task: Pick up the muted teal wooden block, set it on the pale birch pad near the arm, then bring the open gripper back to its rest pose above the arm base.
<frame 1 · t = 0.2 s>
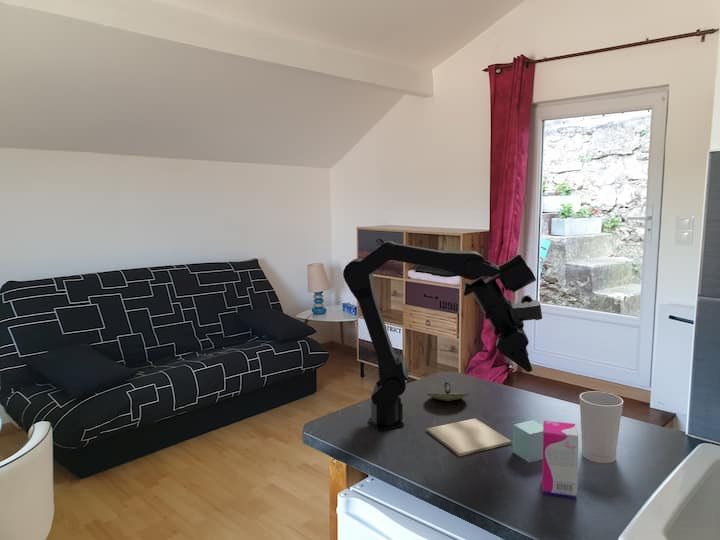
hand: (528, 363, 118), 15 cm above the kitchen counter, tool tilted 30°, fingers open, 9 cm apart
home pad: (467, 437, 117), on the kitchen counter
lid: (448, 402, 137), on the kitchen counter
cup: (598, 456, 108), on the kitchen counter
supplement box: (558, 489, 96), on the kitchen counter
teal block: (530, 455, 108), on the kitchen counter
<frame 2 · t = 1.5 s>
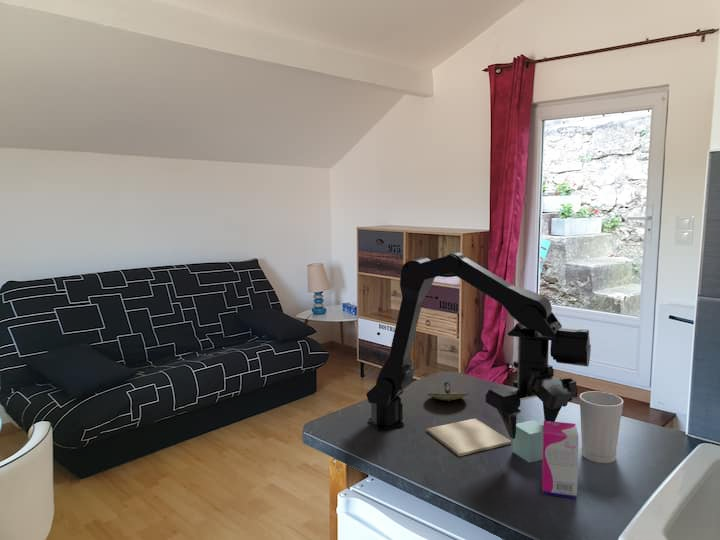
hand: (530, 433, 108), 4 cm above the kitchen counter, tool pointing down, fingers open, 9 cm apart
nothing on the kitchen counter moved.
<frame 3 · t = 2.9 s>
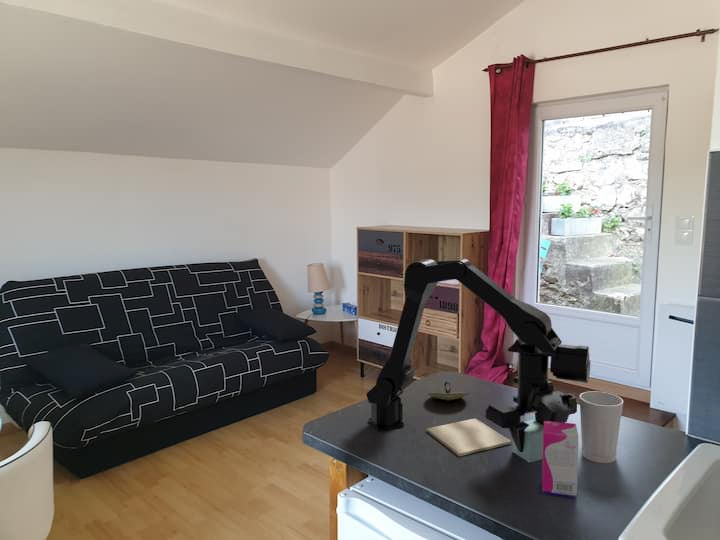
hand: (530, 448, 108), 1 cm above the kitchen counter, tool pointing down, fingers closed on teal block, 5 cm apart
teal block: (530, 454, 108), on the kitchen counter, touching gripper
everything else where it was.
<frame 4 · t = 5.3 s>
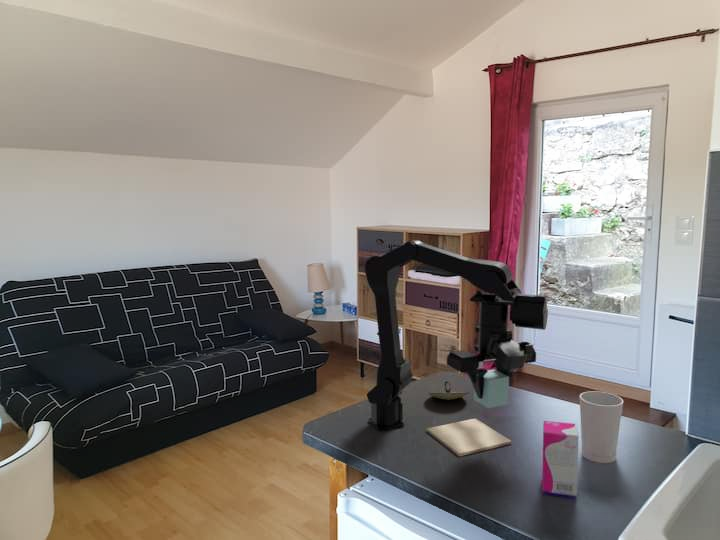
hand: (490, 396, 112), 10 cm above the kitchen counter, tool pointing down, fingers closed on teal block, 5 cm apart
teal block: (490, 401, 112), point 9 cm above the kitchen counter, touching gripper
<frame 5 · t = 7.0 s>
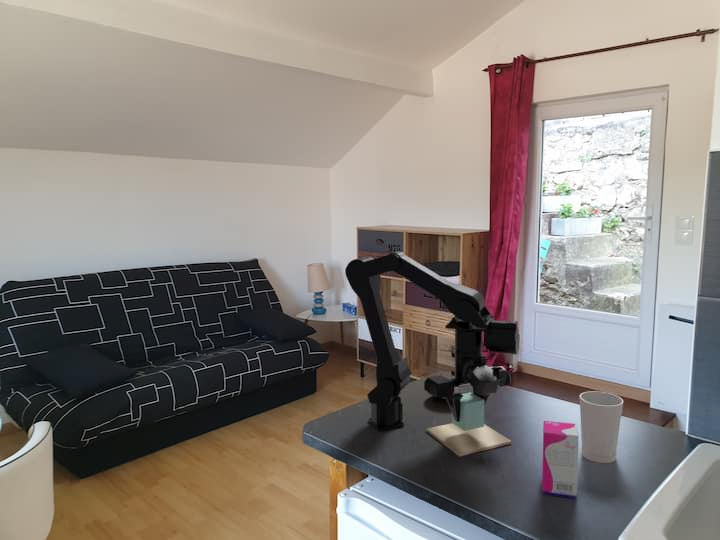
hand: (467, 419, 116), 4 cm above the kitchen counter, tool pointing down, fingers closed on teal block, 5 cm apart
teal block: (467, 424, 116), point 3 cm above the kitchen counter, touching gripper
when the fingers open (3 cm above the kitchen counter, at t = 8.0 s): teal block drops 1 cm, resting on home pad.
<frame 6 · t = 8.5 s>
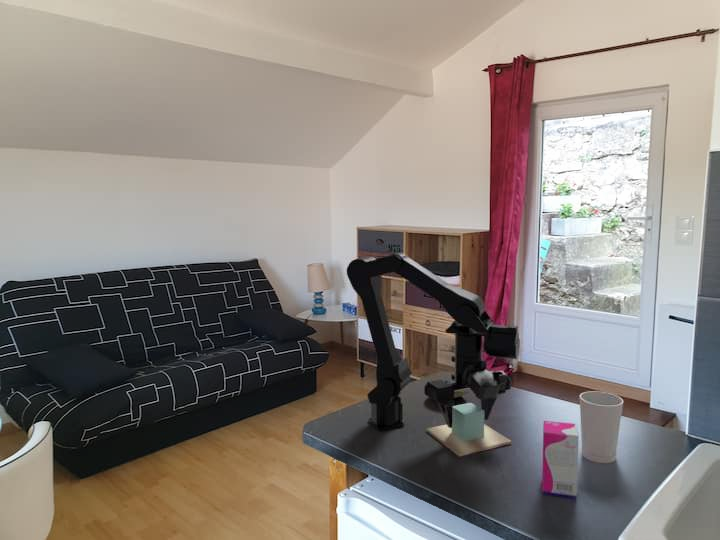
hand: (467, 423, 116), 3 cm above the kitchen counter, tool pointing down, fingers open, 9 cm apart
teal block: (467, 434, 117), point 1 cm above the kitchen counter, touching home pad
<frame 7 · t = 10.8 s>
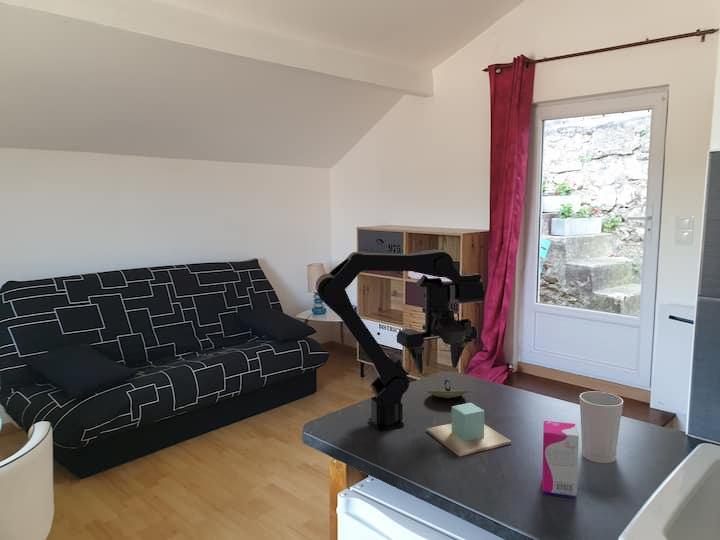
hand: (437, 370, 125), 12 cm above the kitchen counter, tool pointing down, fingers open, 9 cm apart
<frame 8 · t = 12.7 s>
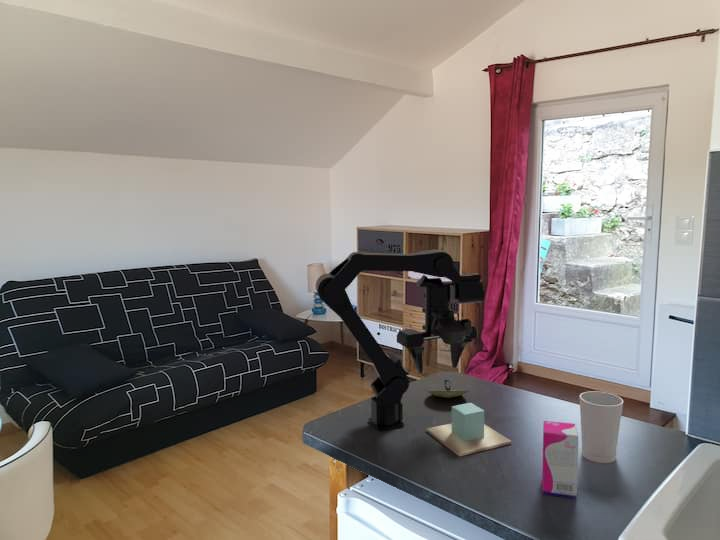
hand: (437, 370, 125), 12 cm above the kitchen counter, tool pointing down, fingers open, 9 cm apart
at the end: teal block inside the target area on the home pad (0.0 cm from its centre), point 0.6 cm above the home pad's base; teal block tilted 0°; the gripper is holding nothing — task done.
